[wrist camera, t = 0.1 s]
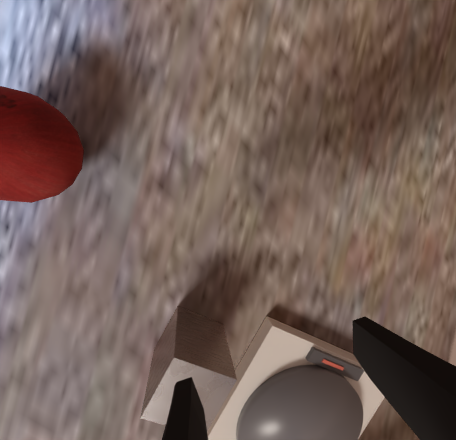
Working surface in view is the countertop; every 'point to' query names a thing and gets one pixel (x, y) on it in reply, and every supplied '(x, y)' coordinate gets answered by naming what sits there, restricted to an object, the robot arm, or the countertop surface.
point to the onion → (35, 148)
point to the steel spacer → (189, 365)
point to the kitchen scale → (296, 390)
